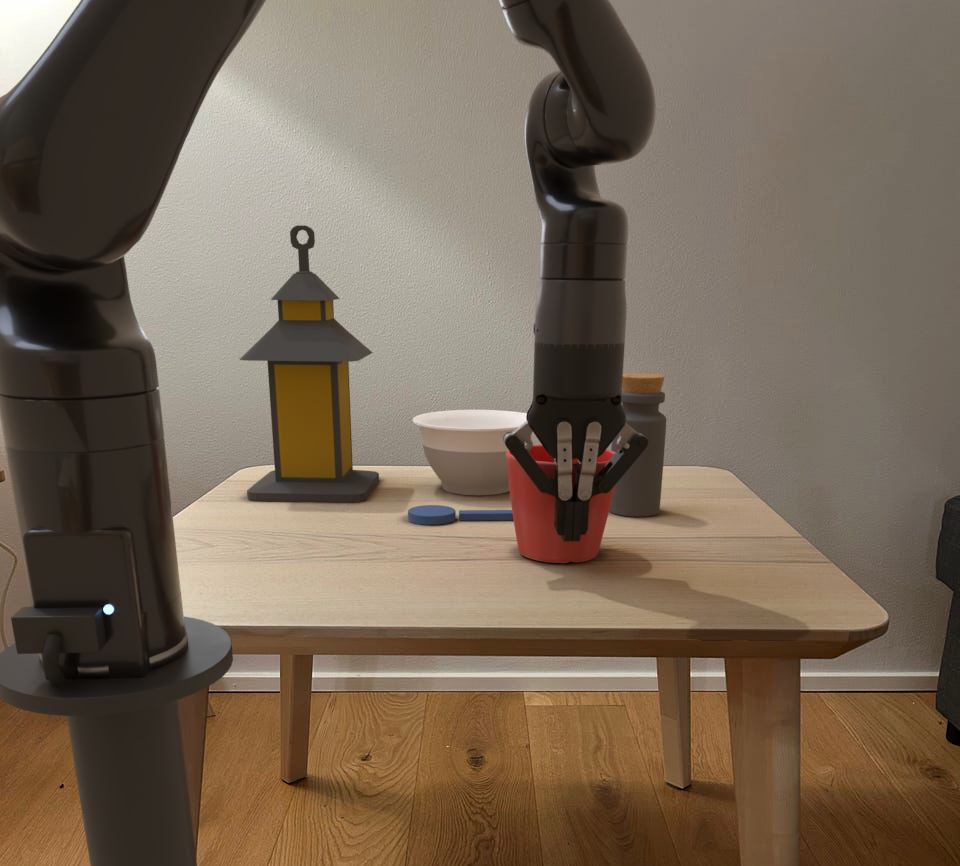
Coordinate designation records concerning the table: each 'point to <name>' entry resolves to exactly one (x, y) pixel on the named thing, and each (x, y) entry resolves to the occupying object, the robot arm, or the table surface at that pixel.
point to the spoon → (453, 515)
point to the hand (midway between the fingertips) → (570, 539)
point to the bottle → (644, 477)
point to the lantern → (310, 394)
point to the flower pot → (552, 513)
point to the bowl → (469, 448)
